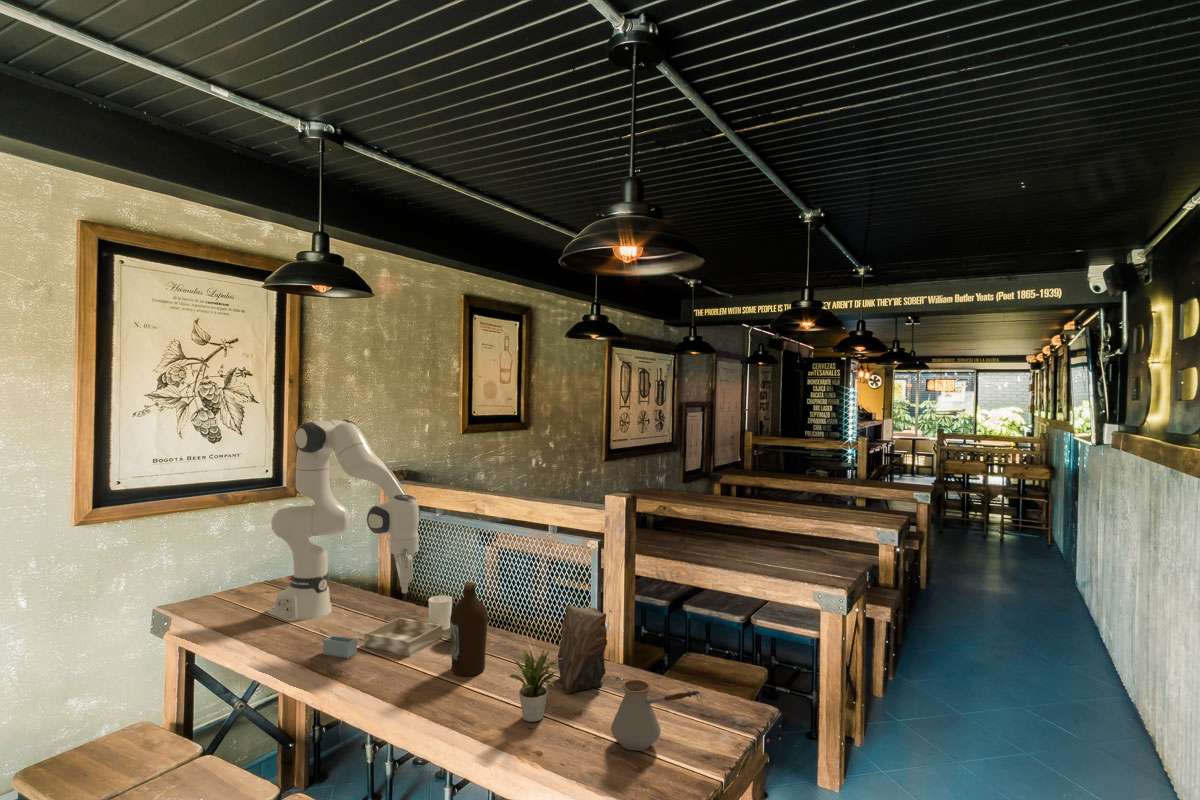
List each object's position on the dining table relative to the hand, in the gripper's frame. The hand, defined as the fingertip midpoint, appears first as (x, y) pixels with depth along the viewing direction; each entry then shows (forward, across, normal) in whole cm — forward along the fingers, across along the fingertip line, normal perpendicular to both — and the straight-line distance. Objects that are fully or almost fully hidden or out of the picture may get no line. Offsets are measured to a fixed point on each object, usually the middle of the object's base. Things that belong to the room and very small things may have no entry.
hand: (403, 589), depth 199 cm
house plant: (+18, -60, -27) cm, 68 cm away
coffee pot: (+18, -82, -49) cm, 97 cm away
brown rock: (+18, -44, -45) cm, 66 cm away
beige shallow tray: (+17, 0, 0) cm, 17 cm away
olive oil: (+18, -26, -16) cm, 36 cm away
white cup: (+18, +10, -13) cm, 24 cm away
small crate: (+17, -3, +19) cm, 26 cm away
